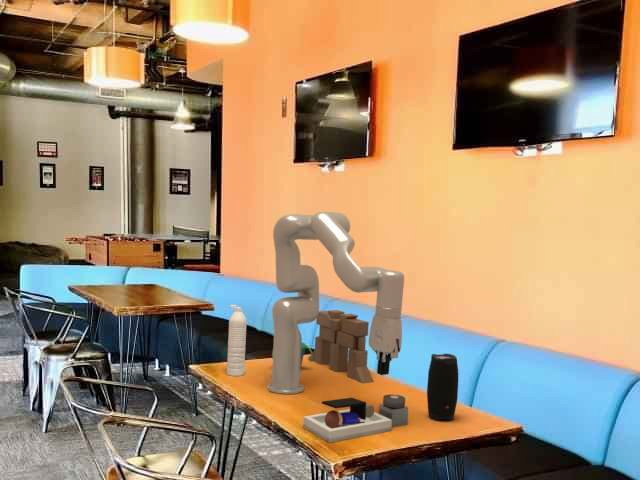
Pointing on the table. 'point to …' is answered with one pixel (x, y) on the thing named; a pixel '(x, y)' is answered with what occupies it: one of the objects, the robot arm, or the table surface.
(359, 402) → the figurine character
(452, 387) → the portable speaker
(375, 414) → the tray
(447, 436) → the table surface
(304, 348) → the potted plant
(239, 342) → the water bottle
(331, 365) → the brown block wall
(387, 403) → the gray mushroom knob
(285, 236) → the robot arm
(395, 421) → the block
